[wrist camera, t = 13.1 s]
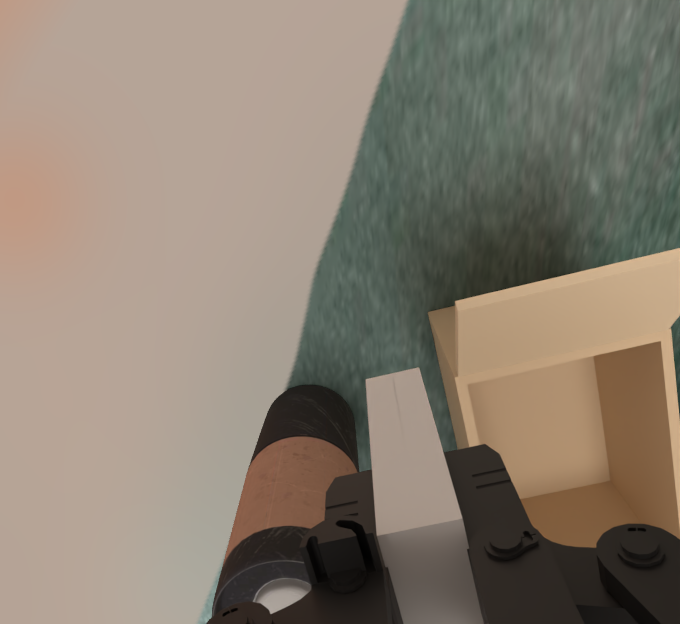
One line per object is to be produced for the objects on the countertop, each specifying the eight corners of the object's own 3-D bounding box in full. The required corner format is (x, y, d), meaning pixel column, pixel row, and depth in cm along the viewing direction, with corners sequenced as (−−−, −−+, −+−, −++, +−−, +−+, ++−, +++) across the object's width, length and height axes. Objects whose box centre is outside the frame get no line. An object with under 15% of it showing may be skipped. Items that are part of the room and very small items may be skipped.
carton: (615, 482, 50) (695, 590, 39) (471, 511, 51) (507, 625, 40) (588, 274, 45) (670, 328, 33) (427, 312, 46) (454, 377, 34)
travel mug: (311, 361, 47) (287, 528, 28) (377, 427, 49) (397, 626, 30) (242, 422, 49) (175, 618, 30) (309, 483, 50) (286, 705, 31)
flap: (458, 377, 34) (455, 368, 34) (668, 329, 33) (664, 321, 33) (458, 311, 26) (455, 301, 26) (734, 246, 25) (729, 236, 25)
